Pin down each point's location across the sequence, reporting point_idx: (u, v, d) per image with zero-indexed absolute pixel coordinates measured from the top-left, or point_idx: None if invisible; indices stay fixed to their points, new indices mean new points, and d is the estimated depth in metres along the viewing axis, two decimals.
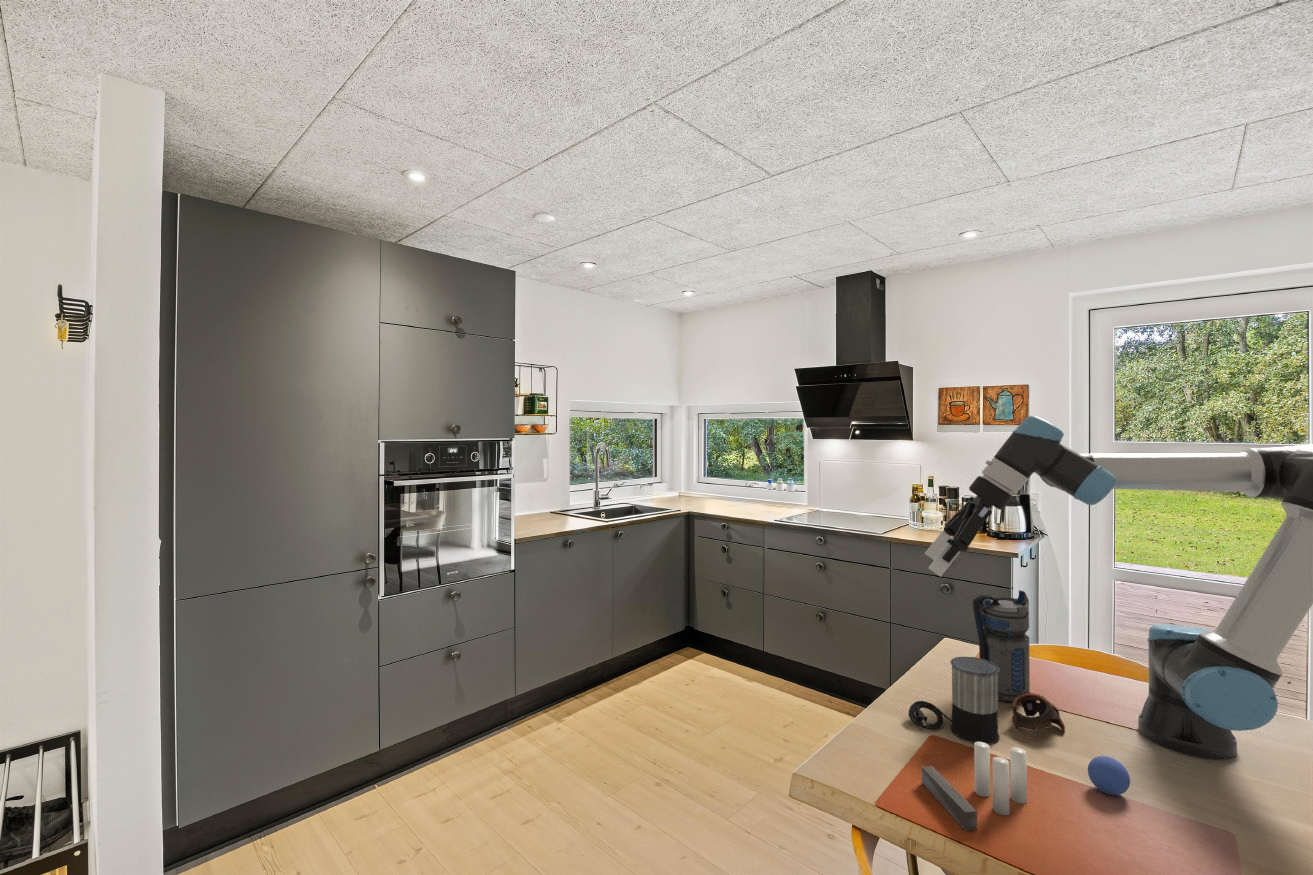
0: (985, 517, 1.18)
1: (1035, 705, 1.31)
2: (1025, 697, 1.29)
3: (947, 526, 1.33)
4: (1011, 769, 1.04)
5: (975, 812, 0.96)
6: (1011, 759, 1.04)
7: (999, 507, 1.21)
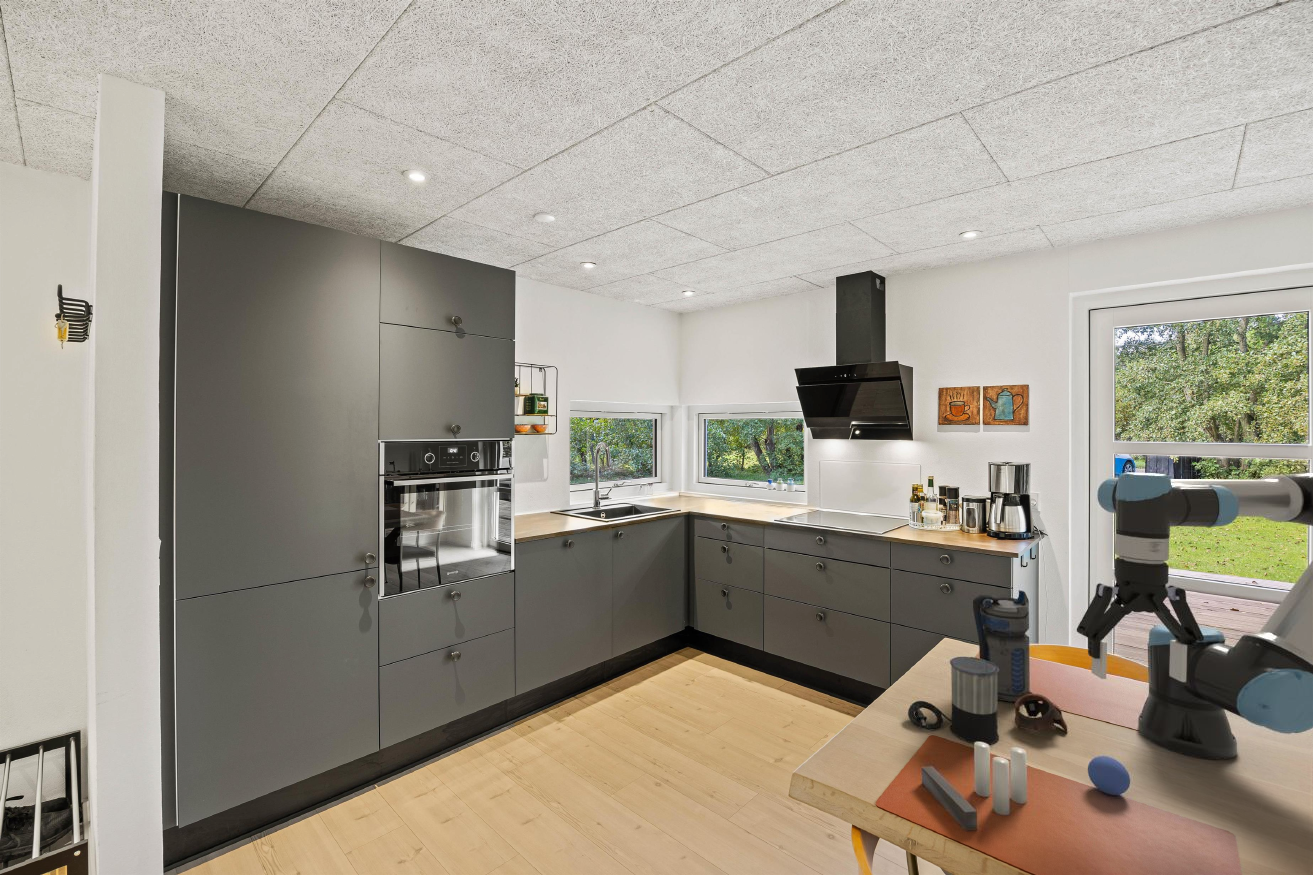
0: None
1: (1037, 705, 1.31)
2: (1027, 697, 1.29)
3: (1105, 634, 1.06)
4: (1011, 769, 1.04)
5: (975, 812, 0.96)
6: (1011, 759, 1.04)
7: None
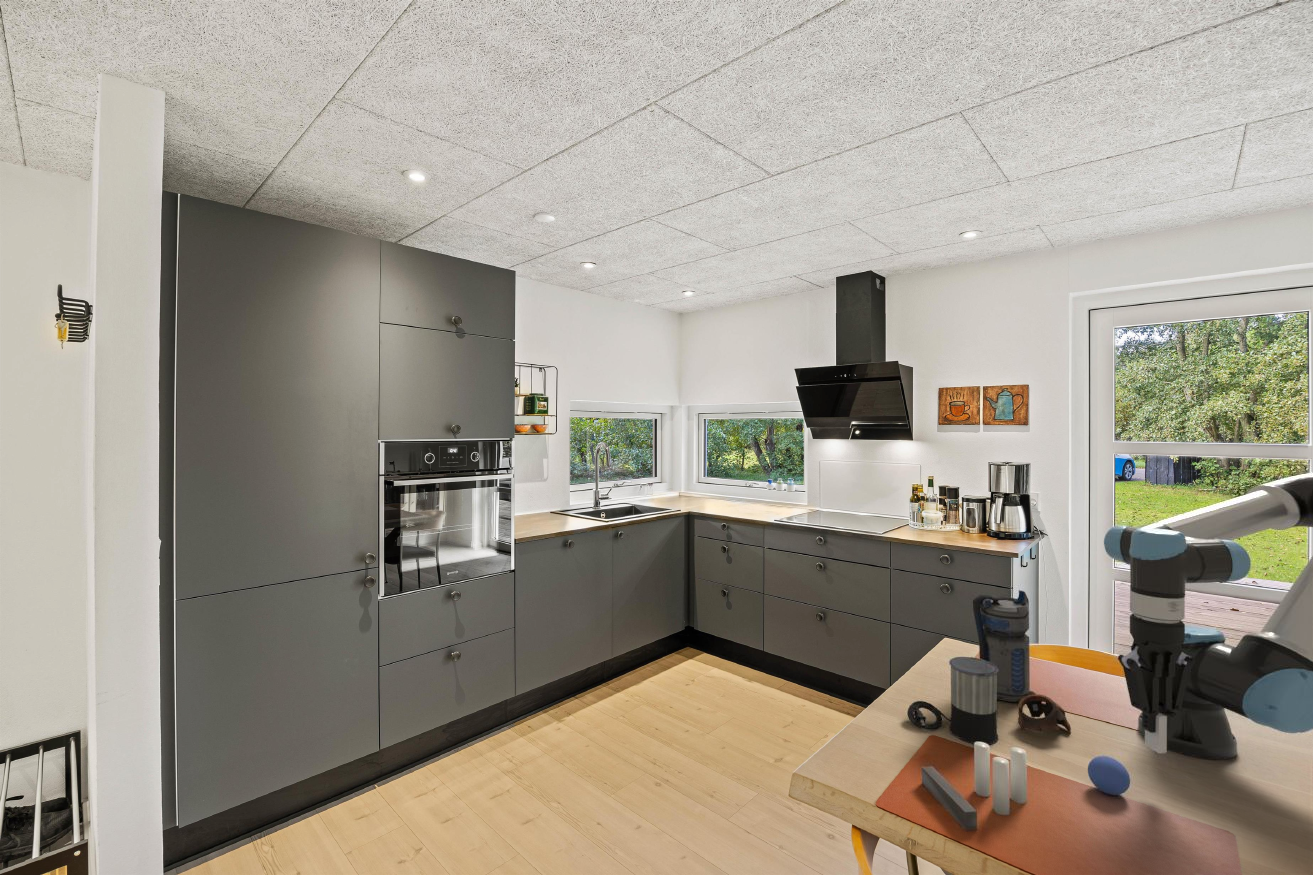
0: None
1: (1041, 706, 1.31)
2: (1031, 698, 1.29)
3: (1157, 705, 1.05)
4: (1011, 769, 1.04)
5: (975, 812, 0.96)
6: (1011, 759, 1.04)
7: None
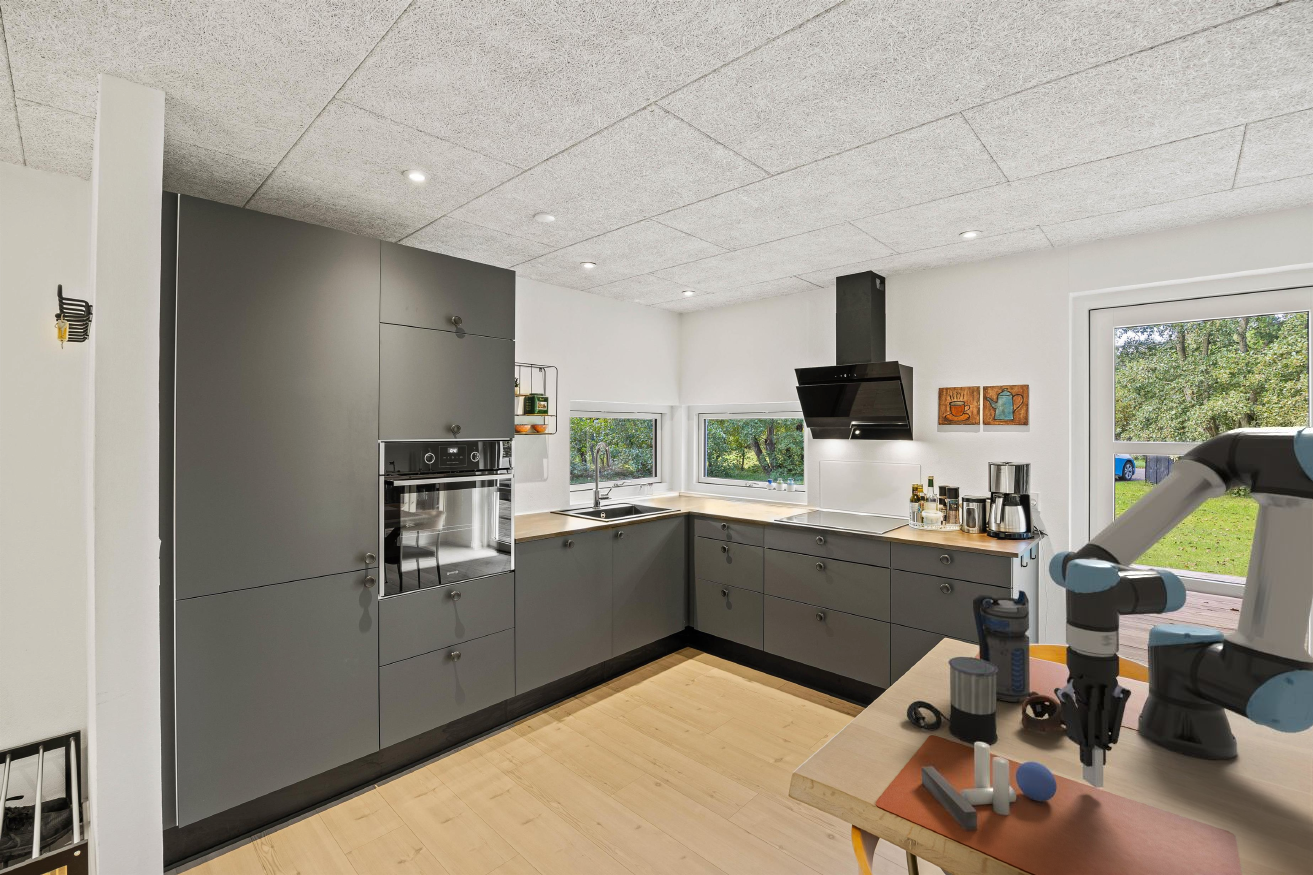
0: None
1: (1044, 707, 1.30)
2: (1034, 699, 1.29)
3: (1093, 739, 1.04)
4: None
5: (975, 812, 0.96)
6: None
7: None
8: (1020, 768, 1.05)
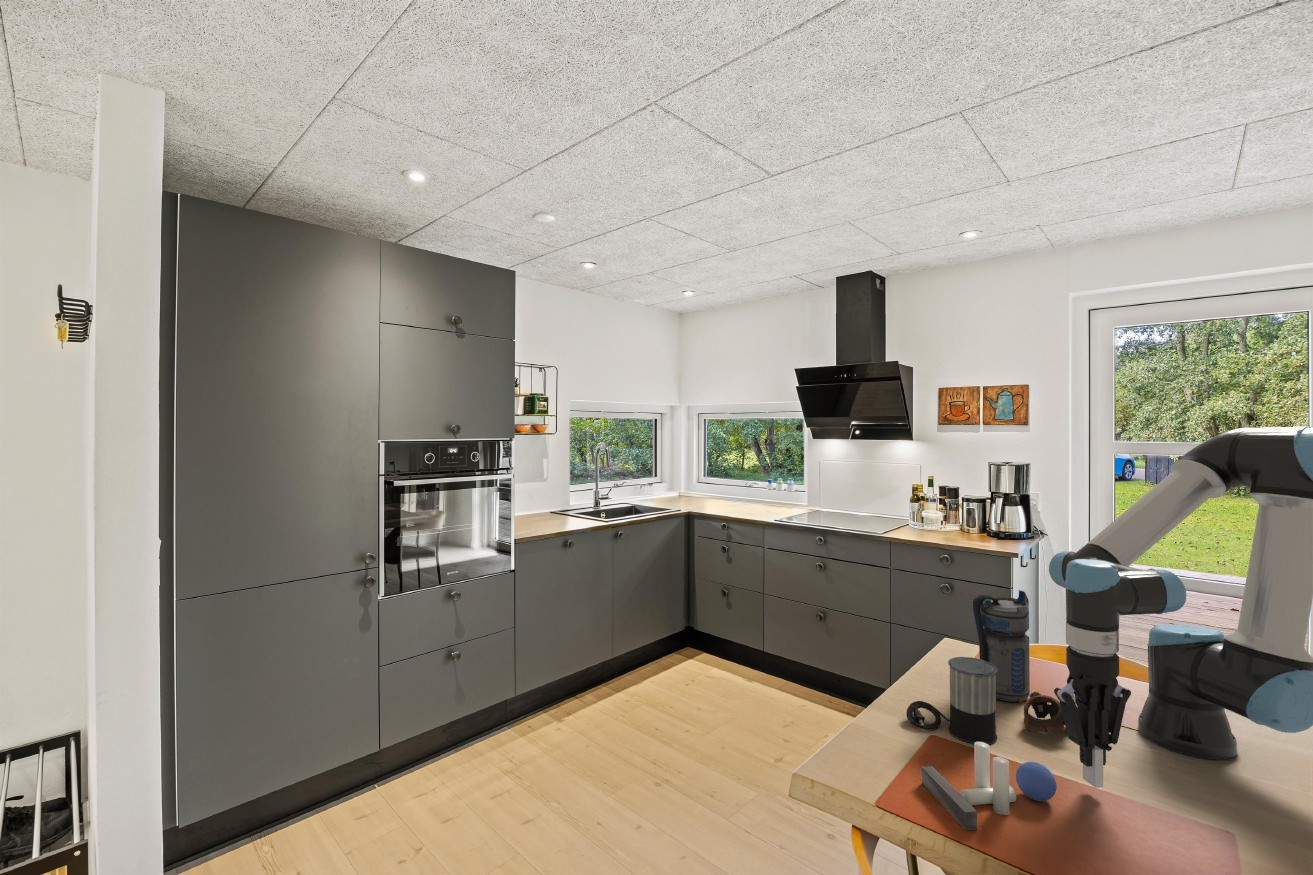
0: None
1: (1046, 707, 1.30)
2: (1036, 699, 1.29)
3: (1093, 739, 1.04)
4: None
5: (975, 812, 0.96)
6: None
7: None
8: (1020, 768, 1.05)
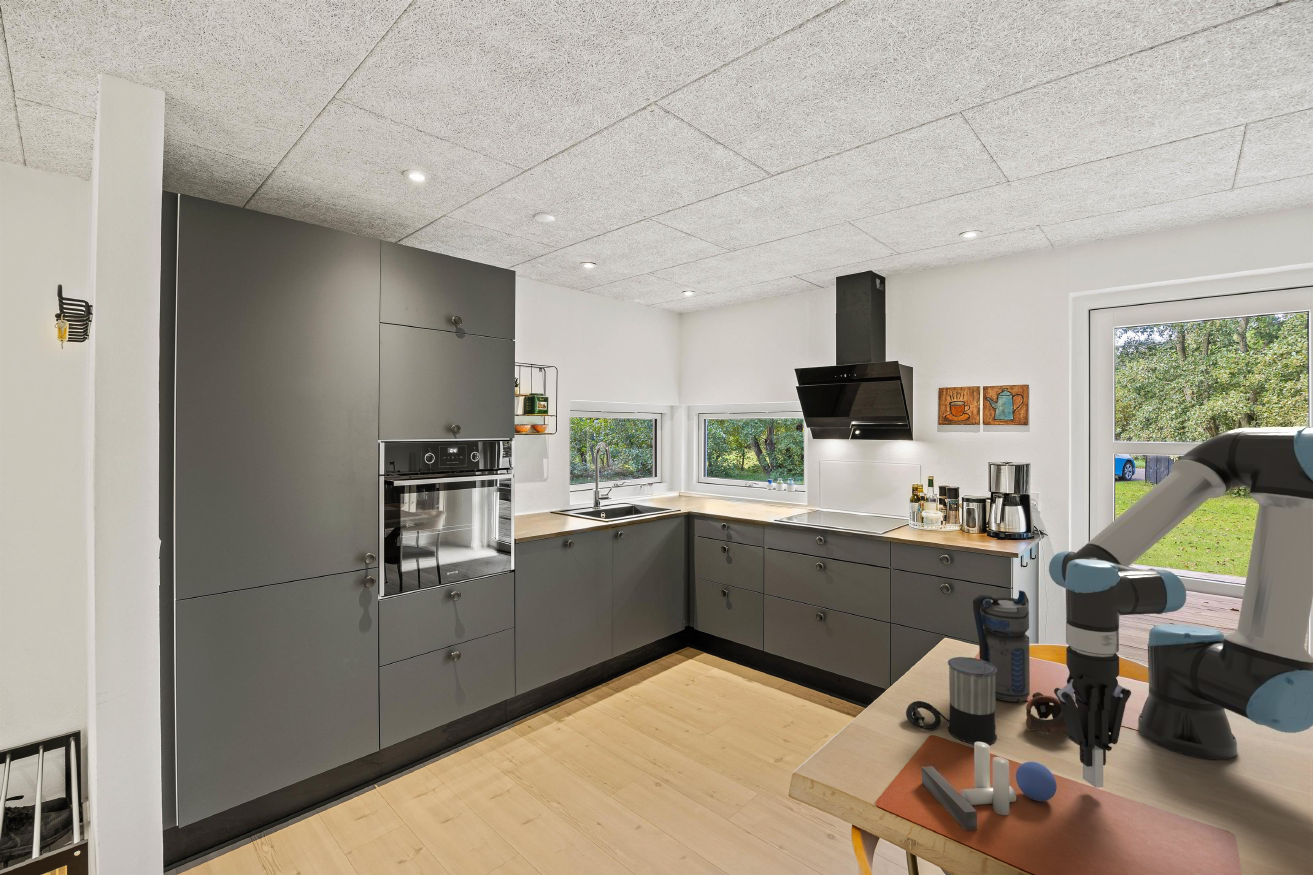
0: None
1: (1048, 707, 1.30)
2: (1039, 699, 1.28)
3: (1093, 739, 1.04)
4: None
5: (975, 812, 0.96)
6: None
7: None
8: (1020, 768, 1.05)
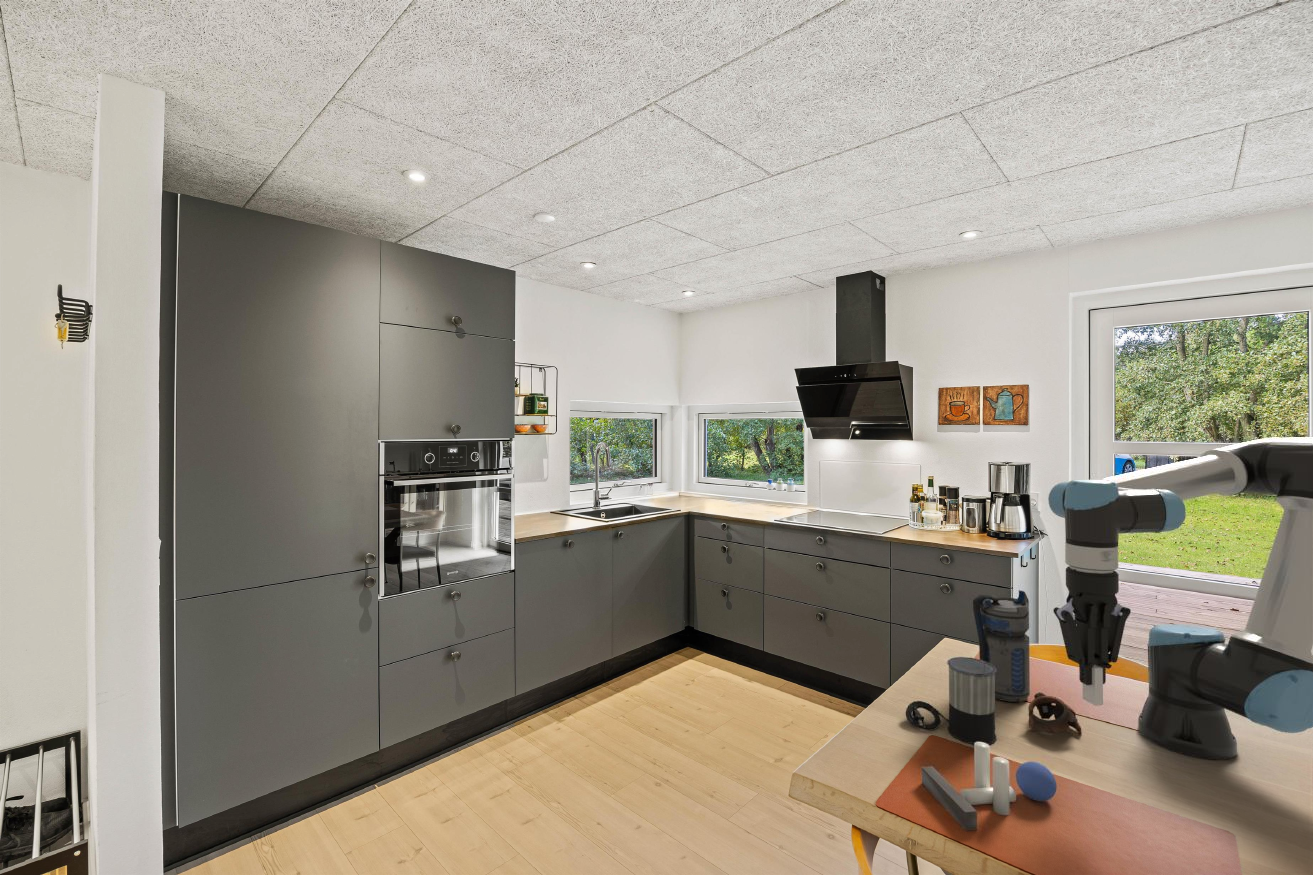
0: None
1: (1051, 708, 1.30)
2: (1041, 700, 1.28)
3: (1092, 657, 1.04)
4: None
5: (975, 812, 0.96)
6: None
7: None
8: (1020, 768, 1.05)
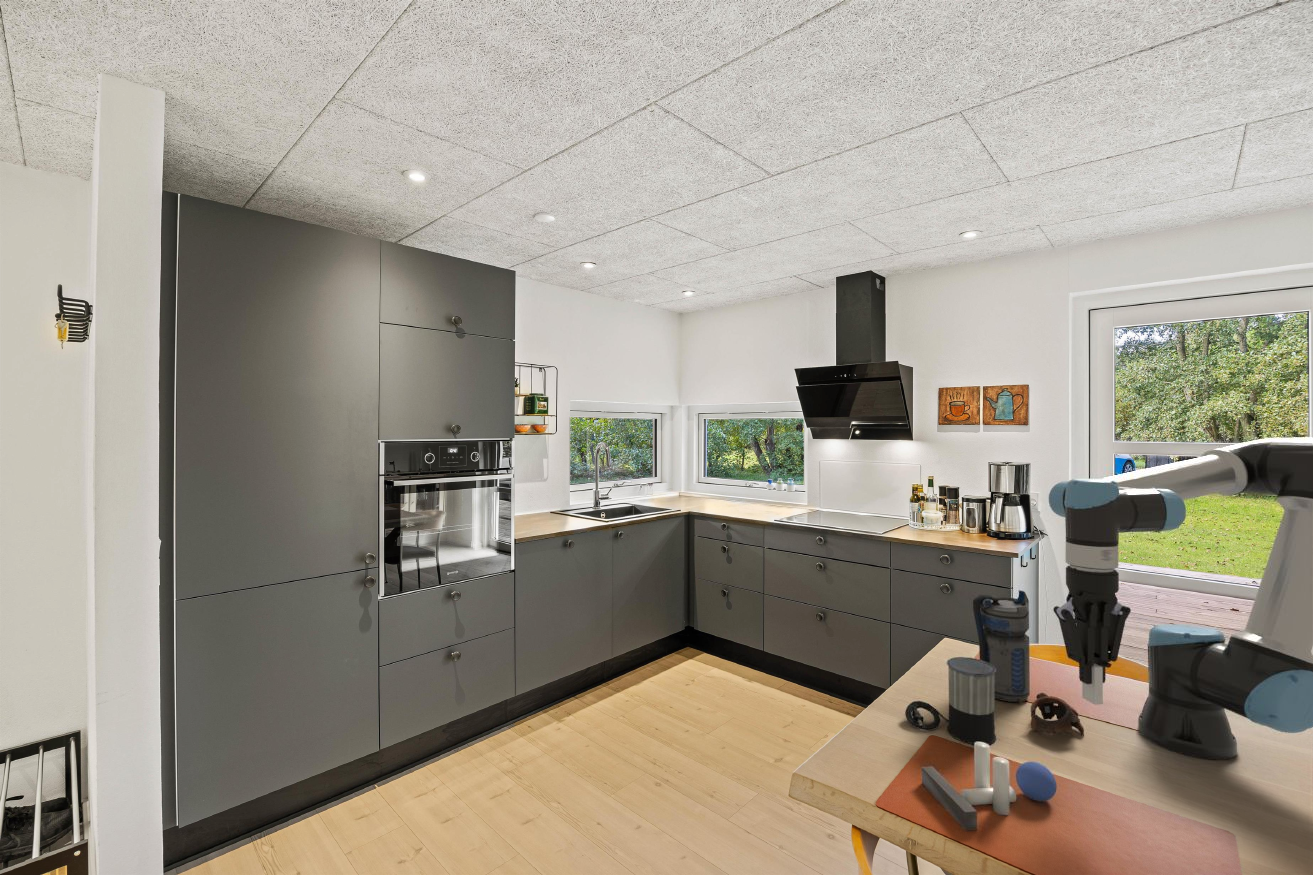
0: None
1: (1053, 708, 1.30)
2: (1043, 700, 1.28)
3: (1092, 656, 1.04)
4: None
5: (975, 812, 0.96)
6: None
7: None
8: (1020, 768, 1.05)
